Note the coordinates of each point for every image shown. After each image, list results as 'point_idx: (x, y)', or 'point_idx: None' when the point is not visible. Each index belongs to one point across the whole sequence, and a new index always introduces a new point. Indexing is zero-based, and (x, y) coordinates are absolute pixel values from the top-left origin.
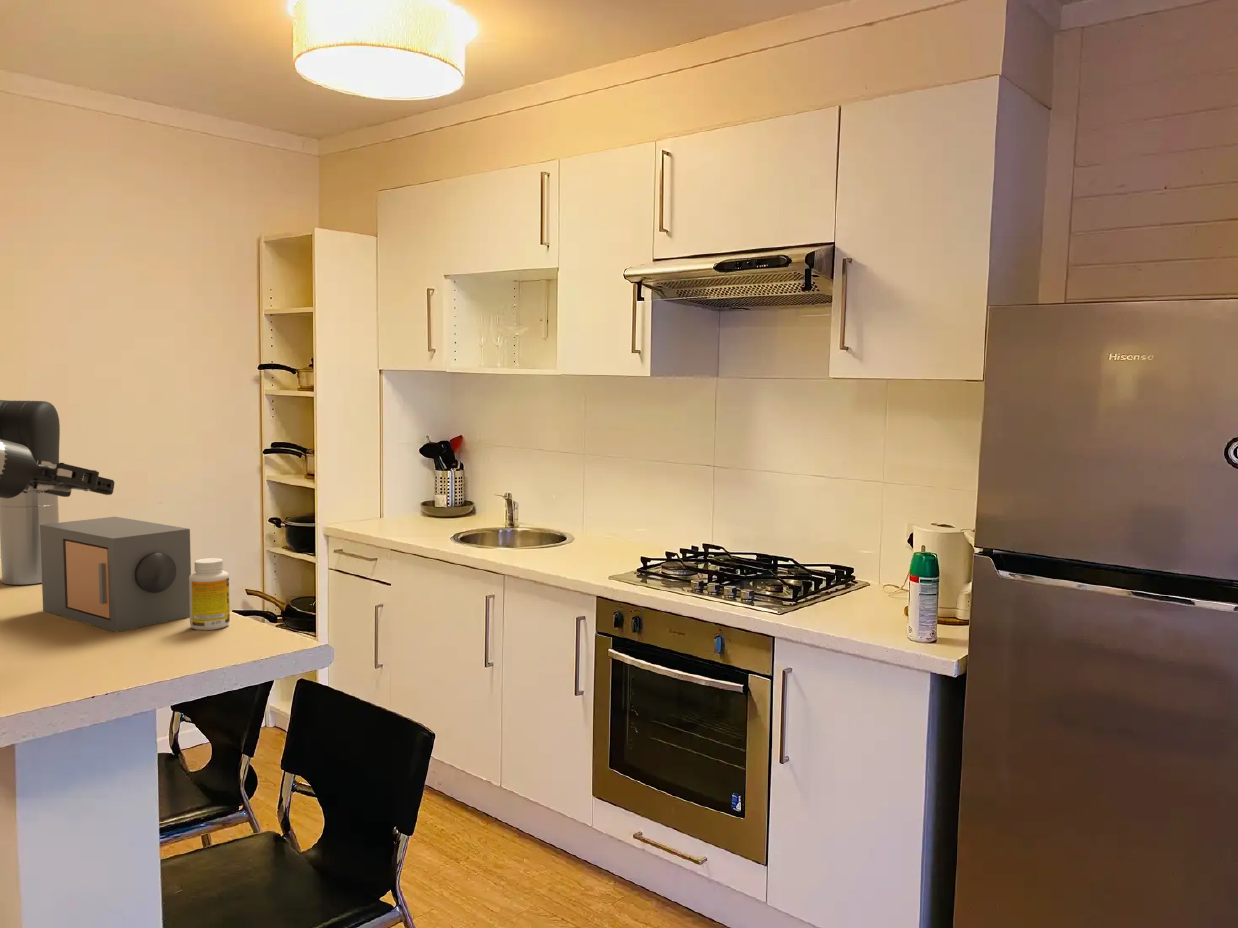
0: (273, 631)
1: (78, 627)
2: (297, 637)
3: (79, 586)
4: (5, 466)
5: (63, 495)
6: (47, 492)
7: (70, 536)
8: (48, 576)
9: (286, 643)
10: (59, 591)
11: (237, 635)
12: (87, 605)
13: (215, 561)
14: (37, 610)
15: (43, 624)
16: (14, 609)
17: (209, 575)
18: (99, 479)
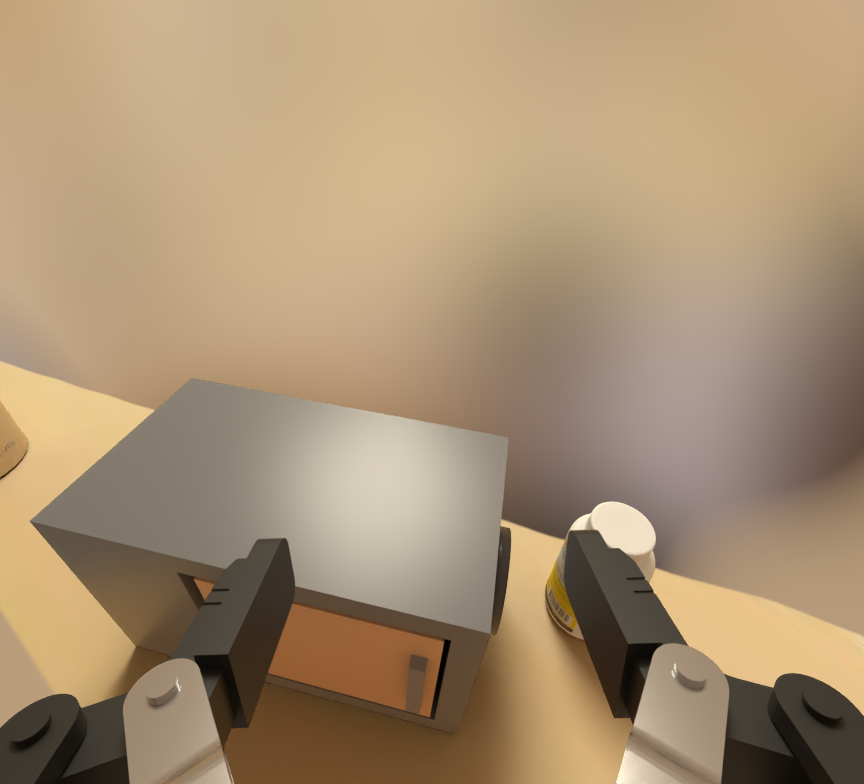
0: (700, 587)
1: (334, 739)
2: (774, 604)
3: (287, 655)
4: None
5: (284, 620)
6: (248, 722)
7: (218, 576)
8: (133, 612)
9: (811, 647)
10: None
11: (685, 637)
12: (328, 683)
13: (649, 531)
14: (117, 647)
15: None
16: (46, 664)
17: (646, 566)
18: (677, 634)
